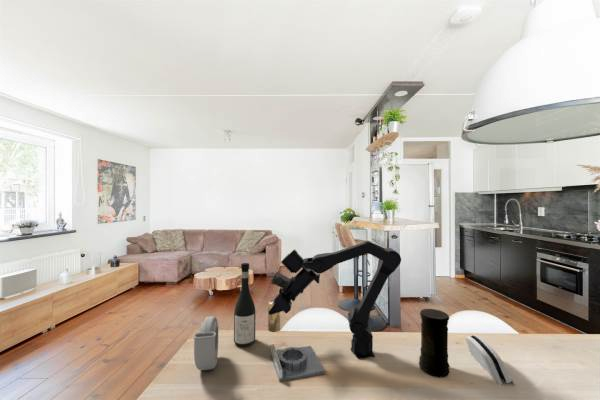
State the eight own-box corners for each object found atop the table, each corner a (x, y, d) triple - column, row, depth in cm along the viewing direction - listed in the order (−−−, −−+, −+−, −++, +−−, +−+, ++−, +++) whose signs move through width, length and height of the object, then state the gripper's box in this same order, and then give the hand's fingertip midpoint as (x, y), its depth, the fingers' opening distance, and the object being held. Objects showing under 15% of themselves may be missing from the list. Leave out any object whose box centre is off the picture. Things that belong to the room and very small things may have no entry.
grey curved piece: (516, 386, 80) (504, 353, 81) (500, 390, 81) (488, 357, 81) (485, 354, 97) (475, 327, 97) (471, 358, 97) (461, 331, 98)
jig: (310, 348, 100) (310, 339, 100) (324, 373, 85) (324, 362, 85) (271, 354, 96) (271, 344, 96) (279, 381, 82) (279, 370, 82)
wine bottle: (255, 347, 101) (255, 265, 101) (233, 348, 100) (233, 266, 100) (255, 336, 109) (255, 260, 109) (234, 337, 108) (235, 261, 108)
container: (424, 357, 95) (425, 305, 95) (453, 369, 88) (453, 313, 88) (414, 368, 88) (414, 313, 88) (444, 382, 82) (444, 322, 82)
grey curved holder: (202, 352, 97) (203, 310, 97) (221, 351, 98) (222, 309, 98) (192, 384, 80) (192, 333, 80) (215, 382, 81) (215, 331, 81)
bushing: (278, 325, 103) (278, 298, 103) (281, 331, 99) (281, 303, 99) (267, 327, 102) (267, 300, 102) (269, 332, 98) (269, 304, 98)
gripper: (288, 260, 109) (261, 287, 110) (280, 272, 91) (247, 304, 92) (308, 280, 108) (280, 307, 110) (303, 297, 90) (271, 329, 91)
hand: (270, 311), depth 101 cm, fingers closed on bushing, 4 cm apart
